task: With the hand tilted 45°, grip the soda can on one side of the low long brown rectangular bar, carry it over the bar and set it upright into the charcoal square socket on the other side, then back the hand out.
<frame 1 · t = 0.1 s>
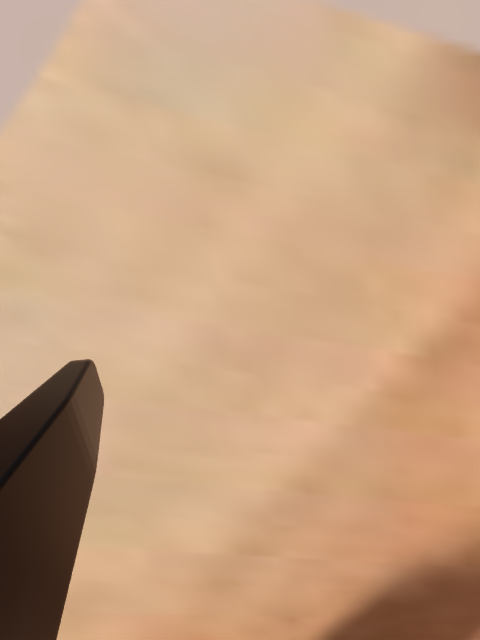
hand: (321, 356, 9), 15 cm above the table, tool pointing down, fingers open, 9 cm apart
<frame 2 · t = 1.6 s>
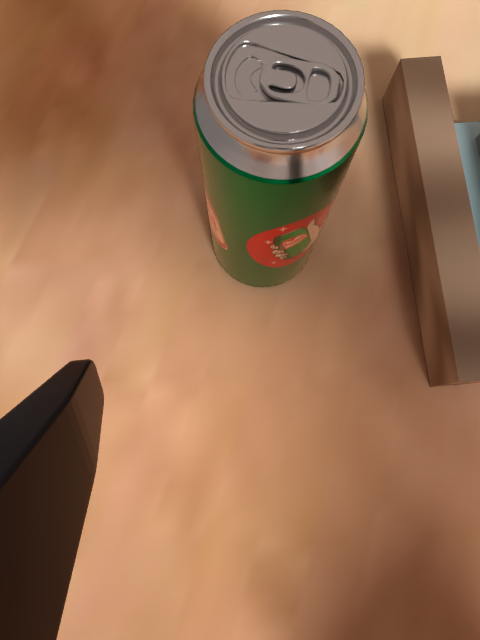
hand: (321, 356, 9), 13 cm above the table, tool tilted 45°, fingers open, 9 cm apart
long brown rectangular bar: (423, 231, 24), on the table
soda can: (261, 245, 24), on the table
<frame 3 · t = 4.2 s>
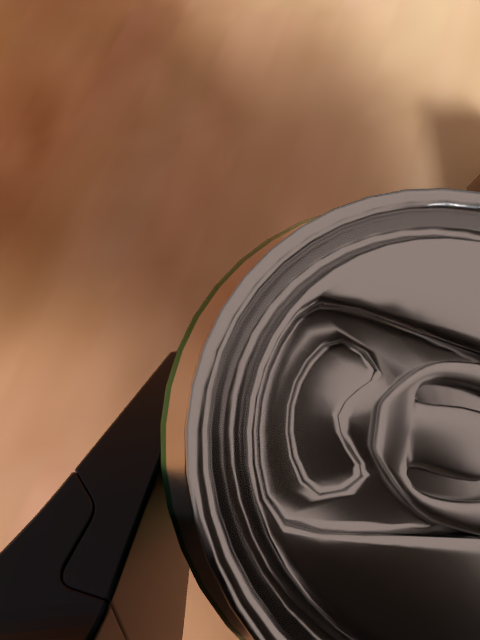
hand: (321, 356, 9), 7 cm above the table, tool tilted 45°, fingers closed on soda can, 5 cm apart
soda can: (291, 424, 15), on the table, touching gripper
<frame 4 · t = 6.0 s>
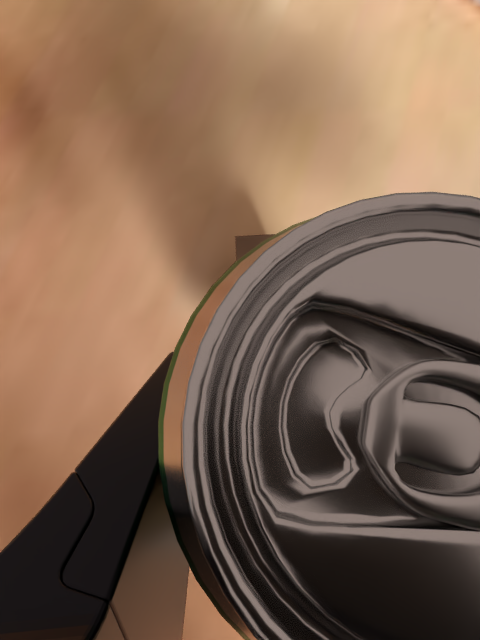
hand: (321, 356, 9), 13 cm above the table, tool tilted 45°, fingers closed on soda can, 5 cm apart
long brown rectangular bar: (266, 417, 22), on the table
soda can: (289, 422, 16), point 6 cm above the table, touching gripper
when the fingers open (8 cm above the table, at t = 8.0 s): soda can drops 1 cm, resting on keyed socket.
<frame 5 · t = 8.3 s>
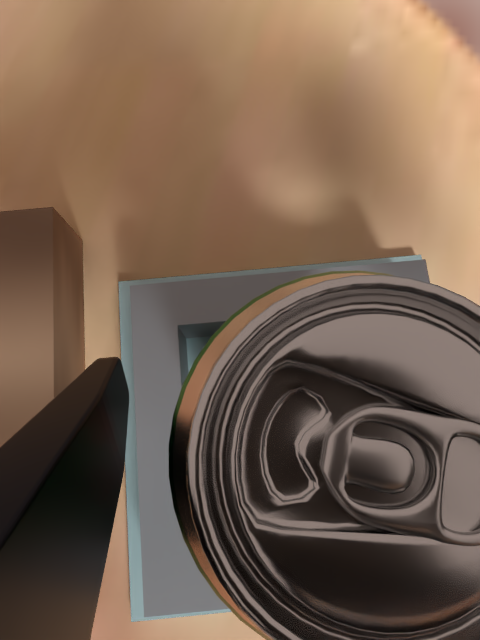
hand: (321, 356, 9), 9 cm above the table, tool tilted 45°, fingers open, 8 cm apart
long brown rectangular bar: (59, 443, 17), on the table
soda can: (285, 426, 17), resting on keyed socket
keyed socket: (286, 423, 17), on the table
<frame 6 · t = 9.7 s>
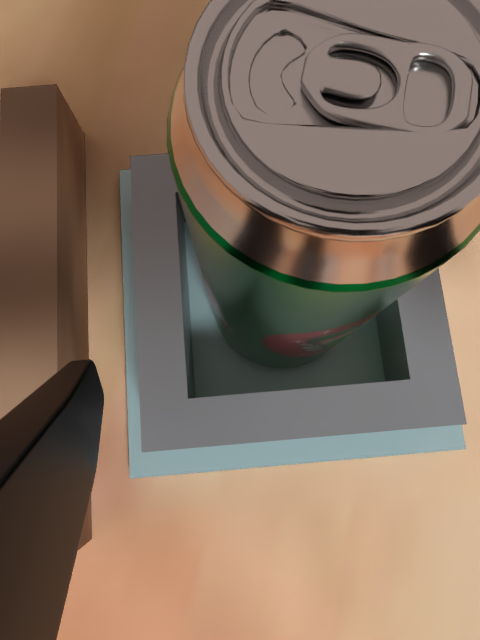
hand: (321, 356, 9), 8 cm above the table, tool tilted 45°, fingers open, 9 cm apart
long brown rectangular bar: (62, 320, 18), on the table
soda can: (279, 304, 18), resting on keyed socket
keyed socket: (280, 302, 18), on the table
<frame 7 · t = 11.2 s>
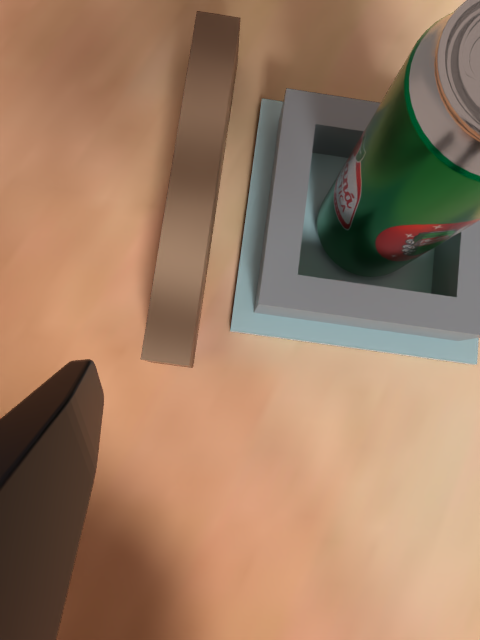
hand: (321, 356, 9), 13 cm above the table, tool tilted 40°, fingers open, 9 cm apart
long brown rectangular bar: (196, 205, 23), on the table
soda can: (363, 231, 23), resting on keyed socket
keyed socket: (363, 230, 23), on the table
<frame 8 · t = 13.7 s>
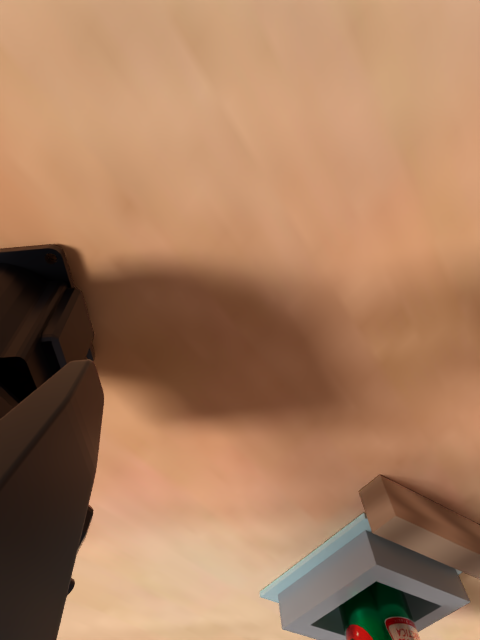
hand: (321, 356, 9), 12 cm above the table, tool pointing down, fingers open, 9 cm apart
long brown rectangular bar: (446, 520, 33), on the table
soda can: (364, 578, 36), resting on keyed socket
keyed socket: (364, 576, 37), on the table
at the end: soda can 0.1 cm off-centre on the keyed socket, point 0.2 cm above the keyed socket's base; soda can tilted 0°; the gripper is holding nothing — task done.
